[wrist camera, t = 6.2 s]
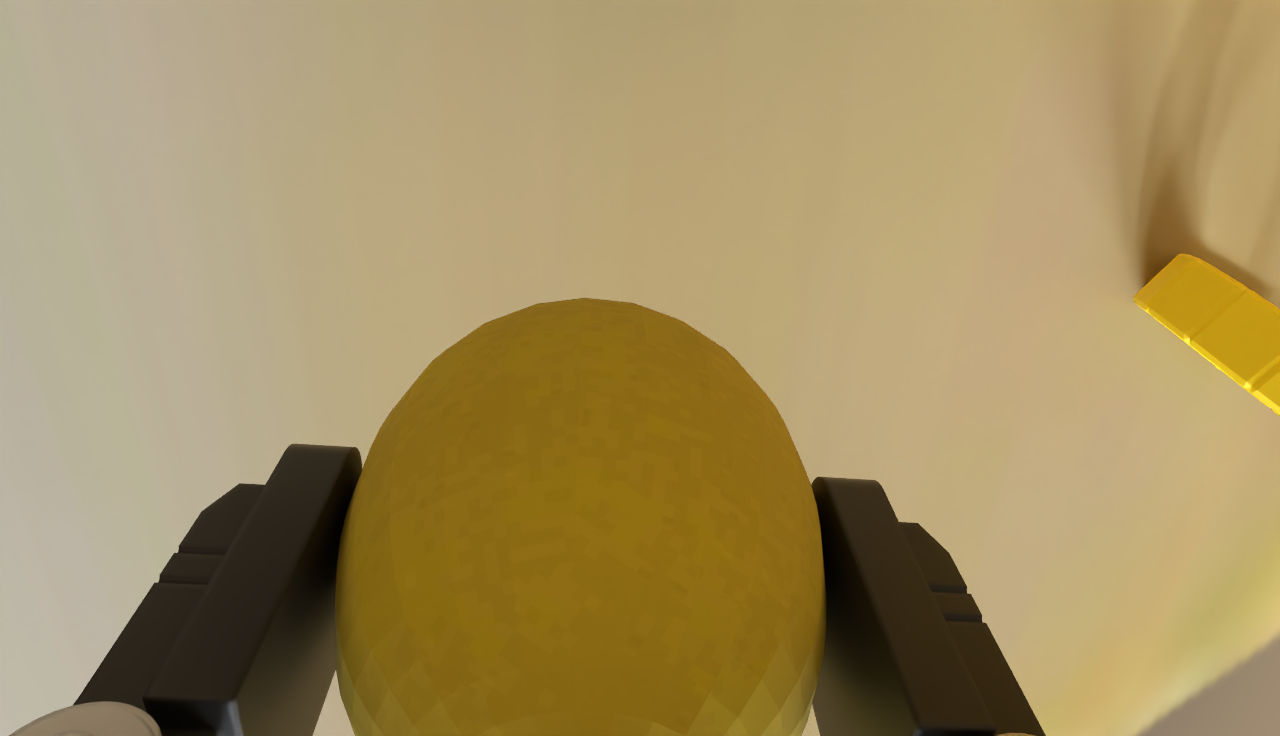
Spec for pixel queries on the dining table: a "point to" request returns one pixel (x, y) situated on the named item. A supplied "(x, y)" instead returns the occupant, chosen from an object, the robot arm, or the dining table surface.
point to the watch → (1219, 323)
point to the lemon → (581, 541)
